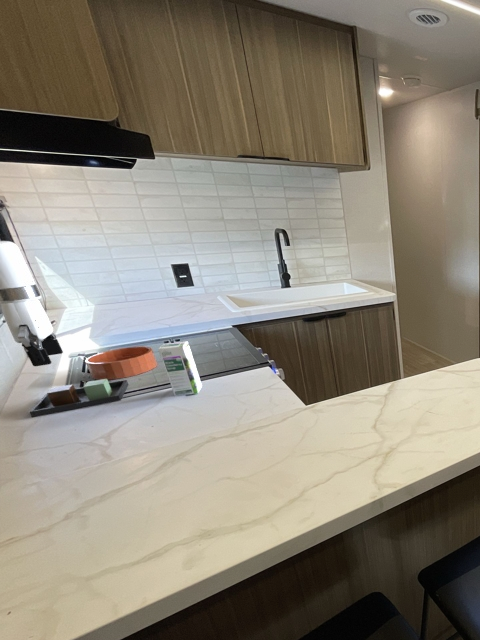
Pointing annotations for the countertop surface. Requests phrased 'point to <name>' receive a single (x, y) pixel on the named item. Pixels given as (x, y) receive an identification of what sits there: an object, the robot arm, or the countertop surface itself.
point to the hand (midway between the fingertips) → (49, 359)
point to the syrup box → (180, 368)
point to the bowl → (121, 363)
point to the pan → (79, 400)
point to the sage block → (97, 389)
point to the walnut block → (63, 395)
